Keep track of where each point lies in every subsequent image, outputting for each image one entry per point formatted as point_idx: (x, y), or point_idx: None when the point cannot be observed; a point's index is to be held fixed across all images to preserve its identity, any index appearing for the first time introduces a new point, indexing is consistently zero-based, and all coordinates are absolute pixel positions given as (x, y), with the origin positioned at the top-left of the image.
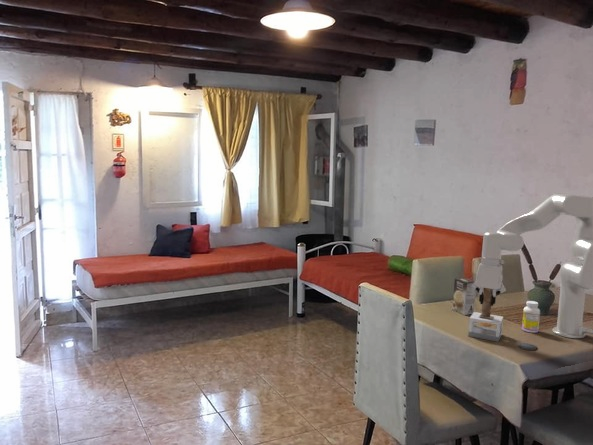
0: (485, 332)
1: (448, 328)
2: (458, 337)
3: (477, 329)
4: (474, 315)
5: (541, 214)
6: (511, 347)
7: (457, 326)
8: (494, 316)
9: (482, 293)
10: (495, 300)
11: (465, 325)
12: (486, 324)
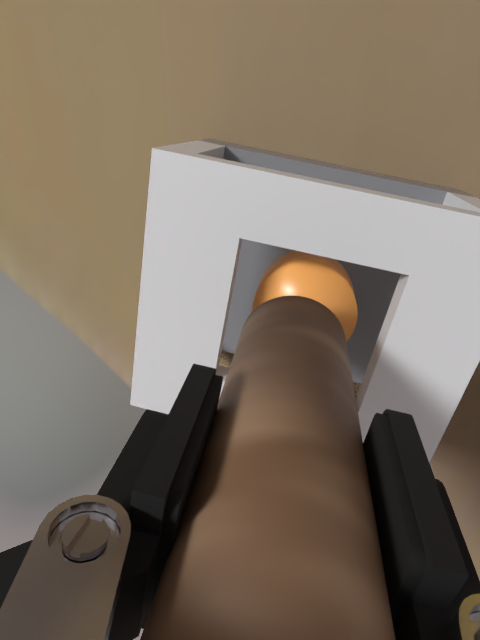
0: None
1: (25, 191)
2: (125, 366)
3: (239, 262)
4: (169, 311)
5: None
6: (461, 448)
7: (77, 96)
8: (410, 268)
9: (131, 635)
10: (454, 519)
11: (138, 21)
12: None
